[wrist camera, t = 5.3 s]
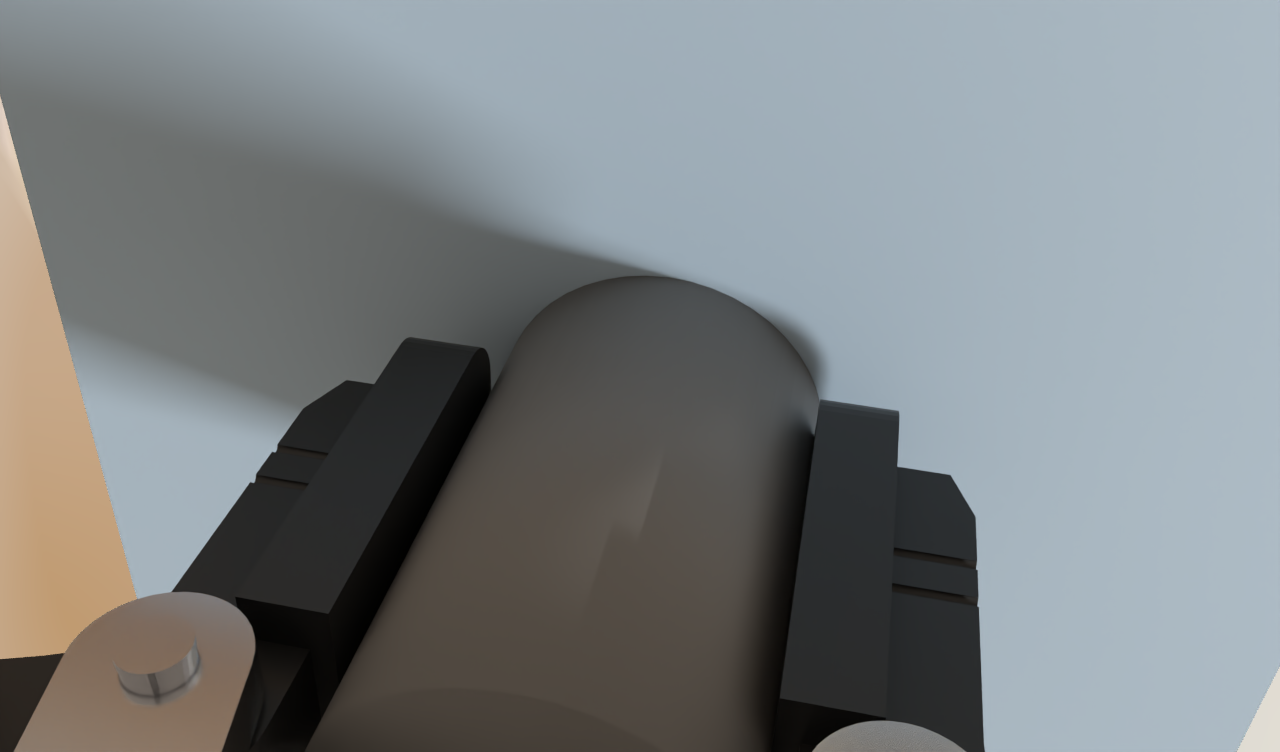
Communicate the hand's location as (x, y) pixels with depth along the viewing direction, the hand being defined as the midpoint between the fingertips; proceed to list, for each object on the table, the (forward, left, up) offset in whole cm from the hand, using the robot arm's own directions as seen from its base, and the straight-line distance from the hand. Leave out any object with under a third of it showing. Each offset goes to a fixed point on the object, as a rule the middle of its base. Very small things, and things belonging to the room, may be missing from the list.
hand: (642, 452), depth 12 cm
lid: (0, 0, -3) cm, 3 cm away
